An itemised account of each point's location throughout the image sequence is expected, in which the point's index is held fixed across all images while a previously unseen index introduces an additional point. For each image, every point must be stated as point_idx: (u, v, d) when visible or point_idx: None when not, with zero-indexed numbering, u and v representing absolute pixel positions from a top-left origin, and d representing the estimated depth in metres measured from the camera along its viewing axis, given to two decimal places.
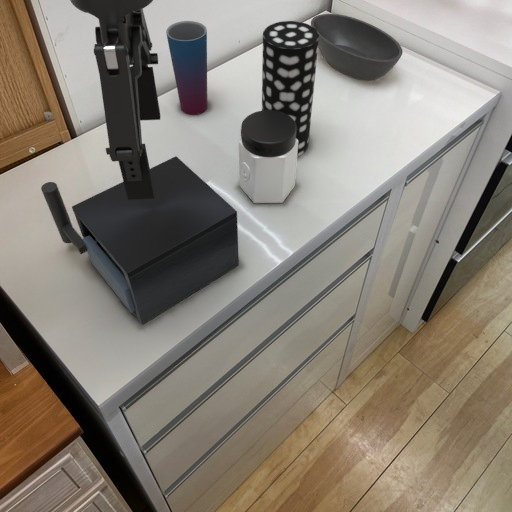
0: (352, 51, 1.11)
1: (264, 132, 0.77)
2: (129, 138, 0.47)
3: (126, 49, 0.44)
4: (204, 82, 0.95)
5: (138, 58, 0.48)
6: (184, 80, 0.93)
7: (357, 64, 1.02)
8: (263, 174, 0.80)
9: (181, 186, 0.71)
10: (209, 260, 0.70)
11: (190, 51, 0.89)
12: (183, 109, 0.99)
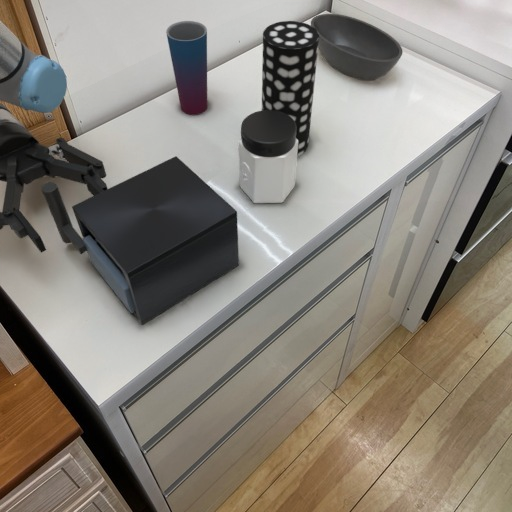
0: (352, 51, 1.11)
1: (264, 132, 0.77)
2: None
3: None
4: (204, 82, 0.95)
5: None
6: (184, 80, 0.93)
7: (357, 64, 1.02)
8: (263, 174, 0.80)
9: (181, 186, 0.71)
10: (209, 260, 0.70)
11: (190, 51, 0.89)
12: (183, 109, 0.99)
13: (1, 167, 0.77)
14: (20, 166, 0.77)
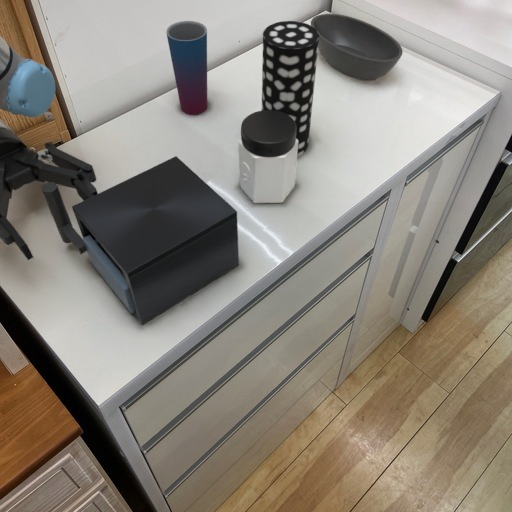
0: (352, 51, 1.11)
1: (264, 132, 0.77)
2: None
3: None
4: (204, 82, 0.95)
5: None
6: (184, 80, 0.93)
7: (357, 64, 1.02)
8: (263, 174, 0.80)
9: (181, 186, 0.71)
10: (209, 260, 0.70)
11: (190, 51, 0.89)
12: (183, 109, 0.99)
13: None
14: (8, 172, 0.76)
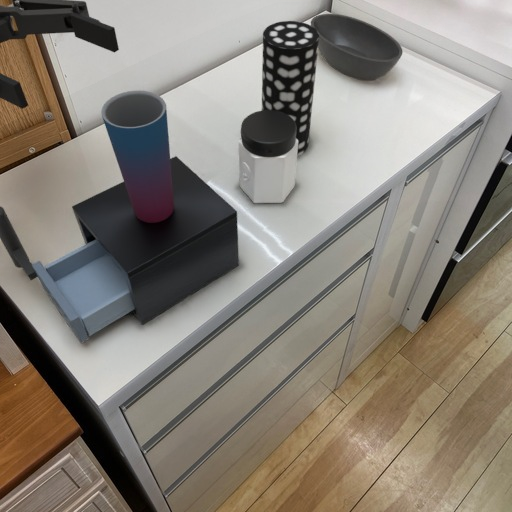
0: (352, 51, 1.11)
1: (264, 132, 0.77)
2: None
3: None
4: (166, 180, 0.62)
5: None
6: (134, 180, 0.61)
7: (357, 64, 1.02)
8: (263, 174, 0.80)
9: (181, 186, 0.71)
10: (209, 260, 0.70)
11: (139, 142, 0.56)
12: (137, 215, 0.66)
13: None
14: None
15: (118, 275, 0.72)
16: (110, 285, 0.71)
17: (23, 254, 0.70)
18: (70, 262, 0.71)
